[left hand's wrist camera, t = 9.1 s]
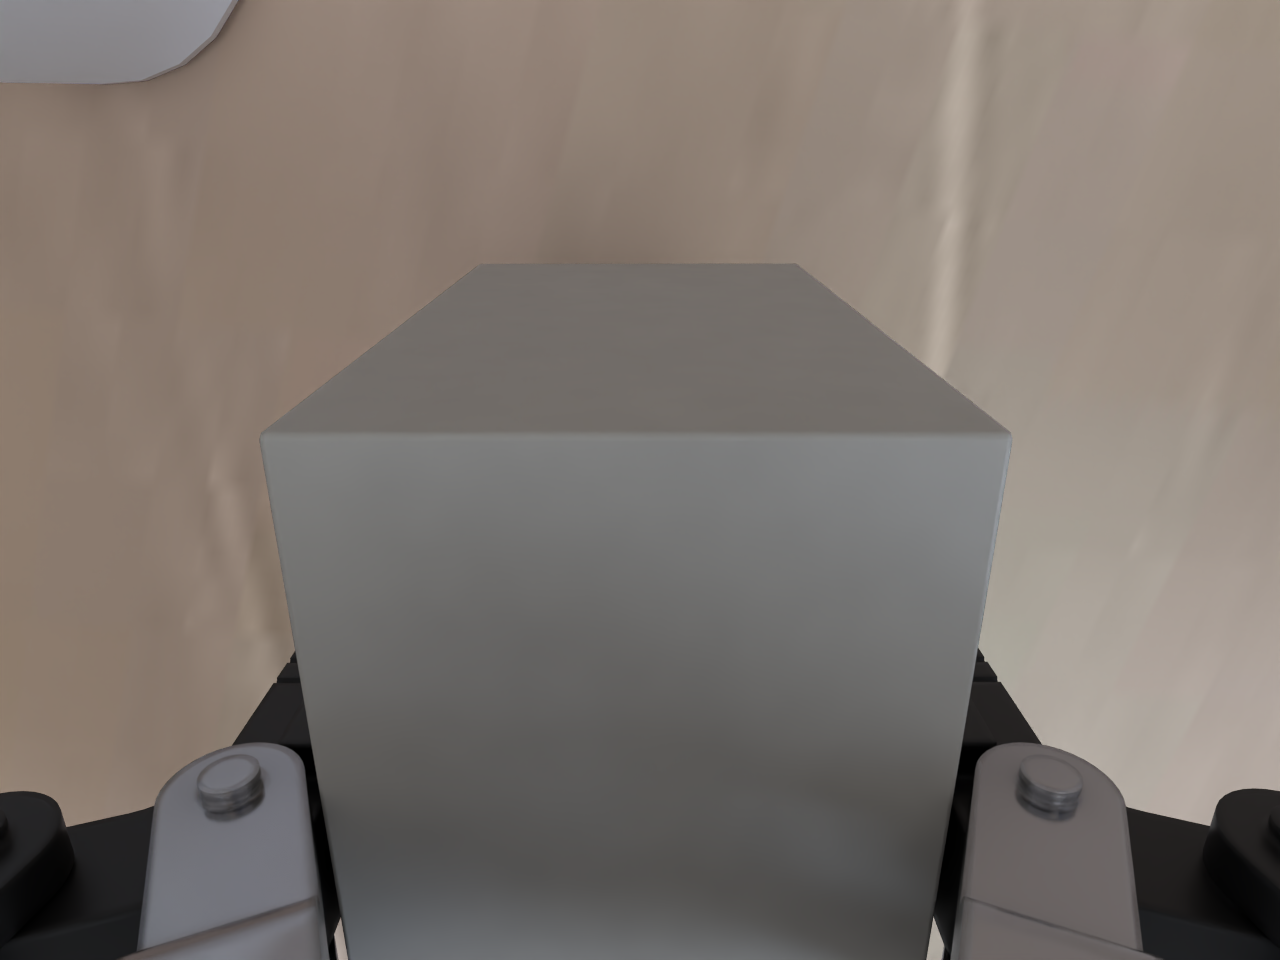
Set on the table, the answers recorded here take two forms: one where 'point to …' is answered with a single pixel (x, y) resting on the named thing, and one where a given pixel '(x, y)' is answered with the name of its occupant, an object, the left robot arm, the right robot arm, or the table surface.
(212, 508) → the table surface
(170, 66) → the mug
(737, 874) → the bar
